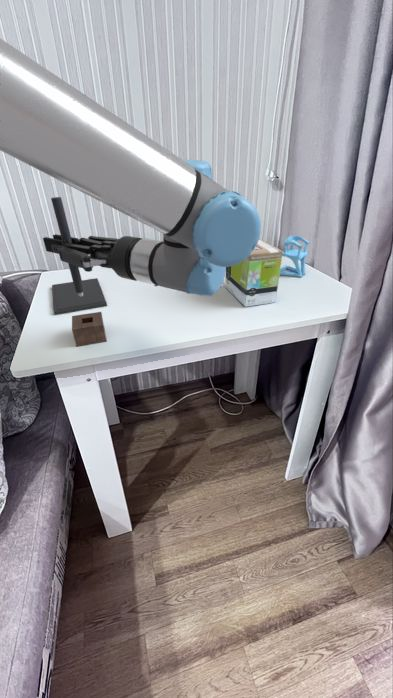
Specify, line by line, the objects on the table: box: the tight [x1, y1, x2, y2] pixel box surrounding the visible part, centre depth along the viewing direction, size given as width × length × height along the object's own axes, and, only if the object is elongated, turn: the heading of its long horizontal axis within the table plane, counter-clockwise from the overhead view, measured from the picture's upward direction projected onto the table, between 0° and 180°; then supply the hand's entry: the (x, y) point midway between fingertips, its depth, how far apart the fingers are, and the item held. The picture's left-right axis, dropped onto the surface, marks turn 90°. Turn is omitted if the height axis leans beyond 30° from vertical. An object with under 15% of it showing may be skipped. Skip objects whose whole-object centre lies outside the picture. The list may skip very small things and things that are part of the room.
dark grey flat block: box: [51, 277, 108, 316], centre depth 96 cm, size 20×14×1 cm
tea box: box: [224, 238, 284, 307], centre depth 91 cm, size 15×10×15 cm
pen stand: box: [71, 311, 108, 347], centre depth 76 cm, size 7×7×4 cm
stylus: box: [50, 196, 84, 297], centre depth 66 cm, size 2×2×20 cm
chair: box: [279, 235, 310, 278], centre depth 105 cm, size 8×8×12 cm
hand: (51, 242), depth 67 cm, fingers closed on stylus, 2 cm apart
